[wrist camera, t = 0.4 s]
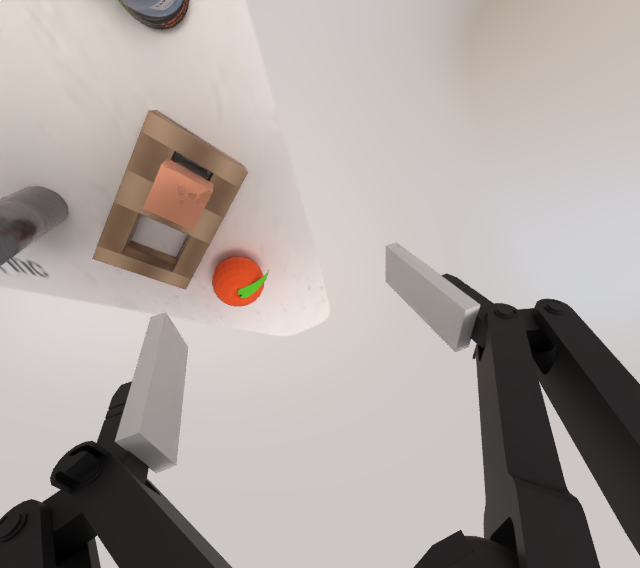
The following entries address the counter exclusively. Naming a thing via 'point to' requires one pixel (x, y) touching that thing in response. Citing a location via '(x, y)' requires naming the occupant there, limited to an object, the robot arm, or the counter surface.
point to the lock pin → (180, 192)
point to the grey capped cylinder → (28, 218)
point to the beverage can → (157, 12)
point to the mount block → (115, 246)
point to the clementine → (238, 281)
